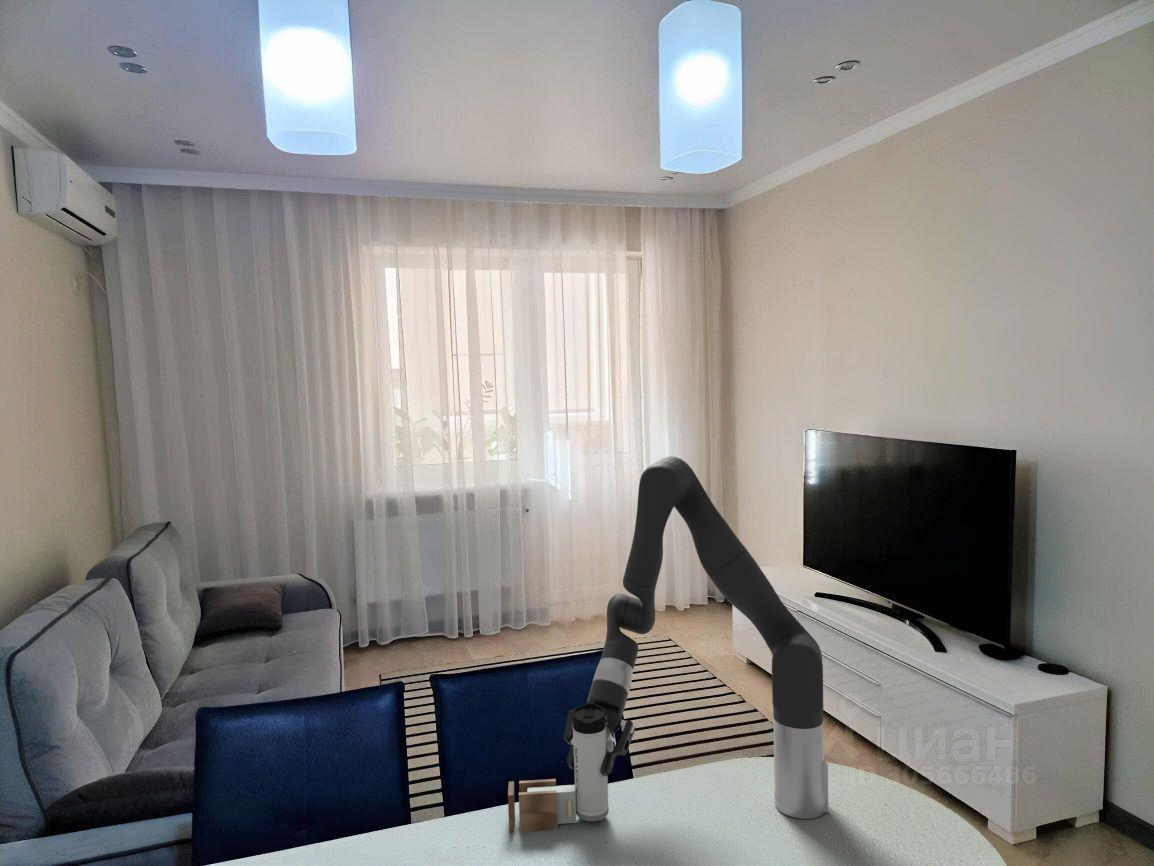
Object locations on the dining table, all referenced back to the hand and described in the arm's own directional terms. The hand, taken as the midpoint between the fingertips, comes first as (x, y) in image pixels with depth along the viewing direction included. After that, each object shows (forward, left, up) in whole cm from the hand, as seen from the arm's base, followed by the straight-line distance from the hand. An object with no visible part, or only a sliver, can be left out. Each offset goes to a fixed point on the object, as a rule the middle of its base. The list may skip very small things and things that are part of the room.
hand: (587, 770), depth 137 cm
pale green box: (+7, -1, -10) cm, 12 cm away
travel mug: (-1, -2, -9) cm, 9 cm away
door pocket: (+10, -1, -10) cm, 14 cm away
